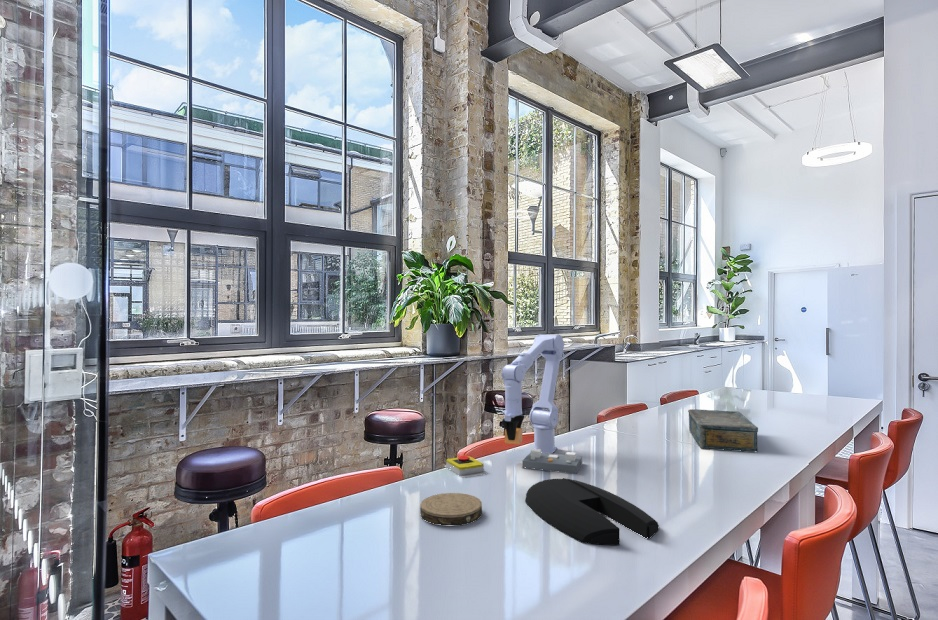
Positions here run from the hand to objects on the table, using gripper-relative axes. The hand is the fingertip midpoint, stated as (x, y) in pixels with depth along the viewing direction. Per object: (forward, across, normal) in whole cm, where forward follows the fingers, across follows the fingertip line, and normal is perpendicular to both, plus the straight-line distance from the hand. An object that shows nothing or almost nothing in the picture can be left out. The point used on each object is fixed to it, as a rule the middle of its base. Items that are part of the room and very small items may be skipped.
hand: (513, 438), depth 182 cm
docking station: (+9, +38, +30) cm, 49 cm away
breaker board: (+8, 0, +14) cm, 16 cm away
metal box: (+9, -58, +70) cm, 91 cm away
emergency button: (+9, +14, -13) cm, 21 cm away
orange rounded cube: (+1, 0, 0) cm, 1 cm away
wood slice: (+9, +51, -2) cm, 52 cm away
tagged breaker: (+8, -1, +14) cm, 16 cm away
